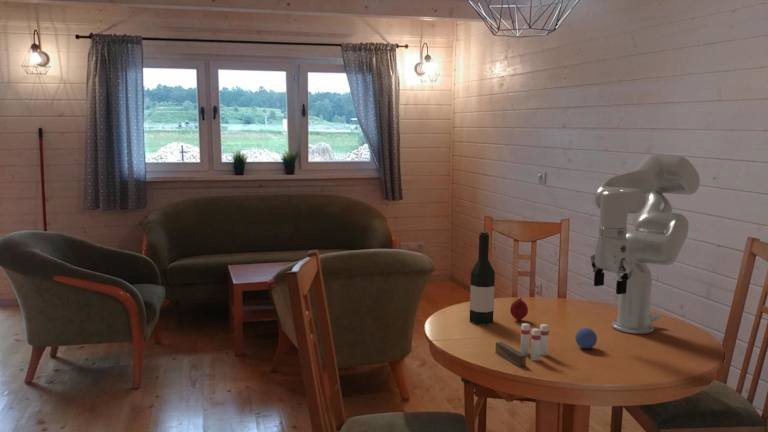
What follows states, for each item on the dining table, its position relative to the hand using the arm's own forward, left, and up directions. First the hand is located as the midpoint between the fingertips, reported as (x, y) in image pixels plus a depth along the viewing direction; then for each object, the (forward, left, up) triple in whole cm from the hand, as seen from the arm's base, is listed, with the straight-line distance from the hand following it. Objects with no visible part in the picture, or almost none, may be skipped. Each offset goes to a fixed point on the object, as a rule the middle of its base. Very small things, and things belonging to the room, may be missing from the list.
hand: (609, 289), depth 192 cm
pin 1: (+28, -2, -17) cm, 32 cm away
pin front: (+23, +1, -17) cm, 29 cm away
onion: (+11, -29, -17) cm, 36 cm away
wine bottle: (+23, -33, -17) cm, 44 cm away
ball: (+8, +1, -14) cm, 16 cm away
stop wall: (+34, +1, -17) cm, 38 cm away
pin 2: (+28, +3, -17) cm, 33 cm away
